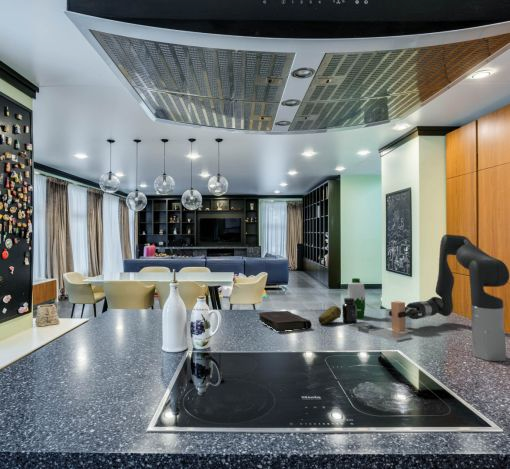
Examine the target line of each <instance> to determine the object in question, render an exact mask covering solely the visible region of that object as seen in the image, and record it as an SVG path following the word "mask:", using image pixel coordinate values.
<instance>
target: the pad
mask: <svg viewBox="0 0 510 469" xmlns="http://www.w3.org/2000/svg"><path fill="white" fill-rule="evenodd" d="M387 329H389V330H393V329H392V327H389V328H387ZM393 331H397V330H393ZM397 332H401V333H405V334H408V333H411V332H414V330H412V329H408V328H406V330H403V331H397Z"/></svg>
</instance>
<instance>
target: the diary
mask: <svg viewBox="0 0 510 469" xmlns="http://www.w3.org/2000/svg"><path fill="white" fill-rule="evenodd" d="M256 314H257V315H259V319H258V320H261V321H262V322H264V323H265V324H267V325H268V326H270V327H272V328H273V329H275V330H276V331H285V330H292V331H295V330H294V329H300V330H304V329H303V328H306V329H309V328H311V329H312V321H311V320H310V319H307V318H305V317H303V316H300V315H298V314H295V313H292V312H291V311H288V310H281V311H279V310H278V311H263V312H257V313H256ZM307 327H308V328H307Z"/></svg>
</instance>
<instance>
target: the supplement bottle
mask: <svg viewBox="0 0 510 469" xmlns="http://www.w3.org/2000/svg"><path fill="white" fill-rule="evenodd" d="M341 308H342V310H341V312H342V323H343V324H345V325H353V324H358V318H357V307H356V304H354V298H348V297H345V298H343V303H342V306H341Z"/></svg>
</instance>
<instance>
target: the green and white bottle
mask: <svg viewBox="0 0 510 469" xmlns="http://www.w3.org/2000/svg"><path fill="white" fill-rule="evenodd" d="M365 289H366V288H365V284H364V282H361V279H360V278H356V277H355V278H354V277H353V278H351V281H349V282H348V284H347V298H354V304H356V307H357V319H364V317H365V309H366V292H365Z"/></svg>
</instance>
